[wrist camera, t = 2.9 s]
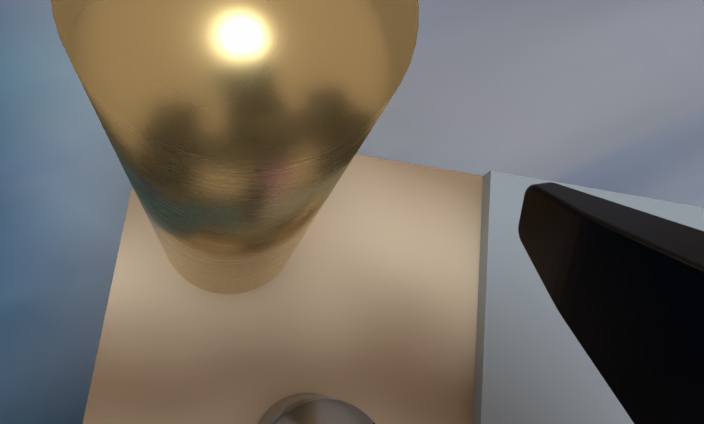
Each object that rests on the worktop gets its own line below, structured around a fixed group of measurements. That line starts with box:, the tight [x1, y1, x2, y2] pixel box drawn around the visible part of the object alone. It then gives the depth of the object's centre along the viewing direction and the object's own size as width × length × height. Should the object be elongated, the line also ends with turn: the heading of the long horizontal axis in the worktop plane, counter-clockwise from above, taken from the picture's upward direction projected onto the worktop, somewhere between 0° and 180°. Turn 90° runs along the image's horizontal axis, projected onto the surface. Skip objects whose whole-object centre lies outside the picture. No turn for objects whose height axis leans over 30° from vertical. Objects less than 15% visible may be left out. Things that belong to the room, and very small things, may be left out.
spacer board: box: [83, 154, 483, 424], centre depth 18 cm, size 16×20×1 cm
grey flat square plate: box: [473, 171, 704, 424], centre depth 20 cm, size 8×8×1 cm
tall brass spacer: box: [51, 0, 419, 294], centre depth 12 cm, size 4×4×12 cm
